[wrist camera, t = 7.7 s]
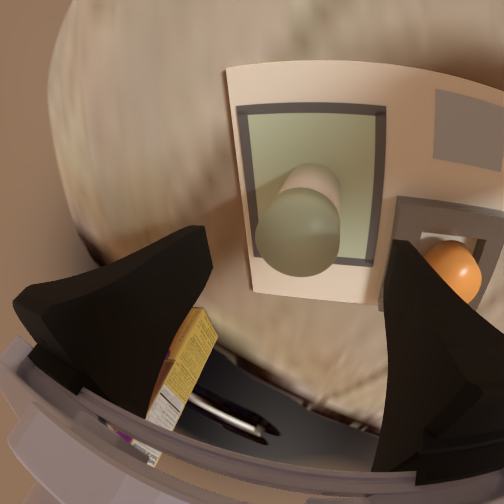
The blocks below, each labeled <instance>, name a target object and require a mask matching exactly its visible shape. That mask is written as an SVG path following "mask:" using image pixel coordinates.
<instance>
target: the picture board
mask: <svg viewBox="0 0 504 504" xmlns="http://www.w3.org/2000/svg"><path fill="white" fill-rule="evenodd" d="M226 74H227V83H228V91H229V99H230V108H231V116H232V124H233V132H234V140H235V149H236V157H237V165H238V173H239V181H240V189H241V197H242V205H243V213H244V221H245V229H246V237H247V245H248V253H249V261H250V269H251V276H252V284H253V292H258V293H266V294H274V295H283V296H291V297H301V298H310V299H320V300H330V301H340V302H351V303H363V304H375V305H378V298H379V294H380V289H381V285H382V281H383V276H384V272H385V267H386V262H387V257H388V251H389V246H390V240H391V234H392V228H393V222H394V215H395V207H396V199H397V196H407V197H415V198H424V199H432V200H439V201H447V202H453V203H460V204H467V205H473V206H479V207H485V208H490V209H496V210H501V211H504V91H501V90H498V89H495V88H493V87H490V86H487V85H484V84H480V83H477V82H474V81H470V80H467V79H463V78H460V77H456V76H452V75H448V74H443V73H439V72H434V71H429V70H424V69H419V68H413V67H406V66H400V65H392V64H383V63H373V62H361V61H341V60H303V61H282V62H269V63H259V64H250V65H242V66H235V67H228V68H226ZM306 163H317V164H321V165H323V166H325V167H327V168H328V169H330V170H331V171H332V172H333V173H334V174H335V176H336V177H337V179H338V182H339V185H340V205H339V216H340V221H341V227H340V245H339V252H338V255H337V257H336V259H335V261H334V262H333V264H332V265H331V266H330V267H329V268H328V269H326V270H325V271H323V272H322V273H320V274H317V275H314V276H310V277H293V276H289V275H285V274H283V273H280V272H278V271H277V270H275V269H273V268H272V267H271V266H269V265H268V264H267V263H266V262H265V261H264V259H263V258H262V257H261V255H260V253H259V251H258V249H257V246H256V242H255V231H256V227H257V225H258V222H259V221H260V219H261V217H262V216H263V214H264V212H265V211H266V209H267V207H268V206H269V204H270V202H271V201H272V200H273V199H274V197H275V196H277V195H278V193H279V191H280V189H281V188H282V186H283V184H284V183H285V181H286V179H287V177H288V176H289V174H290V173H291V172H292V170H294V169H295V168H296V167H298V166H300V165H302V164H306ZM446 240H456V241H459V242H462V243H463V244H465V245H466V246H467V247H468V249H469V250H470V252H471V254H472V255H473V252H474V248H475V245H476V242H477V238H469V237H460V236H452V235H443V234H434V233H425V232H422V234H421V238H420V243H419V247H418V252H419V253H420V254H421V255H422V256H423V255H424V254H425V253H426V252H427V251H428V250H429V249H430V248H431V247H432V246H434V245H435V244H437V243H439V242H442V241H446Z"/></svg>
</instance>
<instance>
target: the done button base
mask: <svg viewBox="0 0 504 504" xmlns="http://www.w3.org/2000/svg"><path fill="white" fill-rule="evenodd" d="M422 232H425V233H434V234H443V235H452V236H460V237H469V238H477V242H476V245H475V248H474V252H473V255H472V256H473V258H474V259H475V261H476V263H477V265H478V267H479V269H480V271H481V276H482V280H481V286H480V288H479V291H478V293H477V294H476V296H475V297H474V298H473V299H472V300H471V301H470V302H469V303H468V305H469V306H470V307H471V308H472V309H473V310H475V311H476V309H477V307H478V305H479V303H480V301H481V299H482V297H483V295H484V293H485V290H486V288H487V286H488V284H489V281H490V279H491V276H492V274H493V272H494V269H495V267H496V264H497V261H498V259H499V256H500V253H501V250H502V247H503V244H504V211H501V210H496V209H490V208H485V207H479V206H473V205H467V204H460V203H453V202H447V201H439V200H432V199H424V198H415V197H407V196H397V199H396V207H395V215H394V222H393V228H392V234H391V240H390V246H389V251H388V257H387V262H386V267H385V272H384V276H383V281H382V285H381V289H380V294H379V298H378V308H379V311H382V312H384V308H383V284H384V279H385V275H386V270H387V265H388V260H389V255H390V250H391V245H392V239H396V240H407V241H409V242H410V243H411V244H412V245H413V246H414V247H415V248H416V249H417V250H418V247H419V243H420V238H421V234H422Z"/></svg>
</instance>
